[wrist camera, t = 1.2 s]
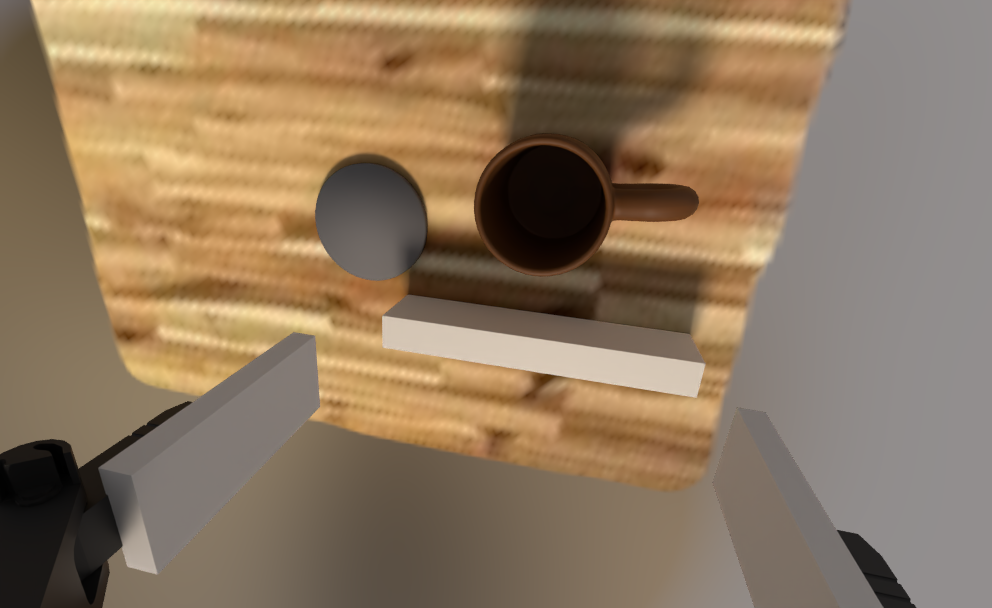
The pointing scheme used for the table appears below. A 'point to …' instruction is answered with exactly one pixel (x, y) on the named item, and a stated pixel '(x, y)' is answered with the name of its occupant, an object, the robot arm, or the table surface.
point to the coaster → (371, 221)
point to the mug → (561, 204)
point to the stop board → (546, 344)
